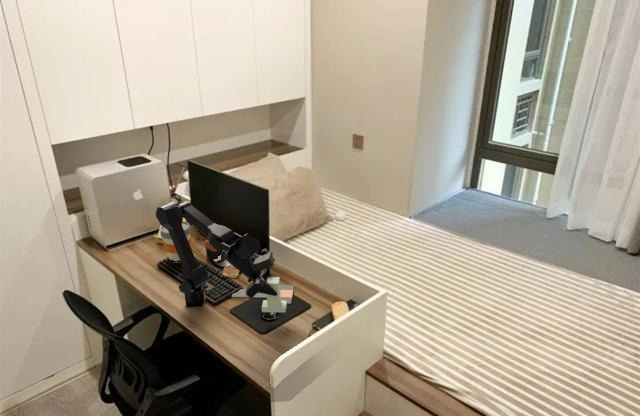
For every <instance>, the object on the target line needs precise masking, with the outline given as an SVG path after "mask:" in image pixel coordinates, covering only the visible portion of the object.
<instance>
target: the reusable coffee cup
mask: <svg viewBox="0 0 640 416" xmlns="http://www.w3.org/2000/svg"><path fill="white" fill-rule="evenodd" d="M182 227H183V229H184V232H185V234H186V237H187V239H188V242H189V244H190V247H191V248H192V236H191V232H192V229H191V226H190V222H188V221H184V220H183V222H182ZM160 237H161V238H162V244H163V247H164V249H165V252H166V253H167V256H168V259H170V260H174V261H178V260H180V258H179V256H178V253H177V251H176V248H175V246H174V244H173V241H172V239H171V236H170V234H169V231H168V230H167V229H166V228H164V227H163V226H161V227H160ZM170 260H169V261H170Z"/></svg>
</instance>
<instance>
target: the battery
mask: <svg viewBox="0 0 640 416" xmlns="http://www.w3.org/2000/svg"><path fill="white" fill-rule="evenodd" d="M204 245H205V246H204V247H205V252H206V253H205V254H206V258H207V260H210V261H212V262H213V260H214V259H217V258H218V256H220V255H221V254H222V252H223V251H220V252H219V251H217V250H216V249H215V248H214V247H213V246H212V245H211V244H210V243H209V241H208V238H207V239H205V240H204Z"/></svg>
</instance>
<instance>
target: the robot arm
mask: <svg viewBox="0 0 640 416" xmlns="http://www.w3.org/2000/svg"><path fill="white" fill-rule="evenodd" d="M155 216H156V219H157V221H158V222H159V225H160V226H161V227H162V226H163V227H164V228H166V229H167V230H168V231H169V234H170V236H171V239H172V241H173V244H174V246H175V248H176V251H177V253H178V256H179V258H180V261H181V262H180V263H181V265H182V273H181V278H182V281H183V282H182V283H181V284H180V285H178V289H179V292H180V293H182V294H184V298H185V299H184V300H185V304H184V308H197V307H200V308H201V307H203V306H204V303H205V302H206V290H205V288H203V286H205V285H206V284H207V282H208V279H209V276H208V275H209V273H208V271H207V269H206V266H205V265H204V264H201V263H199V262H197V260H196V257H195V254H194V252H193V249H192V246H191V247H190V244H189V242H188V239H187V237H186V234H185V232H184V229H183V227H182V222H183V221H184V220H185V221H186V222H187V223H189V224H191V226H193V227H195V228H196V229H197V230H198V231H200V232H201V233H202V234H203V235H205V237H206V238H207V239H208V241H209V243H210V244H211V245H212V246H213V247H214V248H215V249H216V250H217V251H219V252H220V251H223V252H222V254H221V261H220V262H221V263H224V262H225V261H226V262H227V263H228V264H230V265H232V266H234V267H235V268H236V269H237V270H239V272H238V274H239V275H238V276H241V275H243V276H244V277H245V278H247V282H248V283H249V284H248V285H247V286H246V287H247V288H246V289H247V290H246V295H247V296H248V297H249V298H248V299H253V298H252V297H254V296H255V295H256V294H257V293H263V294H268V295H272V296H276V295H277V292H276V291H275V290H274V289H273V288H272V287H271V286H270V285H269V284H268V281H267V278H268V277H274V275H273V274H272V273H271V272H272V269H271V268H273V267H274V266H275V265H274V263H275V261H276V260H275V258H274V256H273V255H274V253H273V252H271V251H270V250H268V248H264V249H262V250H261V248H262V245H261V242H260V240H259V239H258V238H257V237H255V236H251V235H250V234H249V233H245V234H244V235H241V234H238V233H237V232H235V231H233V230H232V229H231V228H229V227H227V226H225V225H221V224H217V223H215V222H214V221H213V220H212V219H210V217H208V216H206V215H205V214H204V213H202V212H201V211H200V210H198V209H197V208H196V207H194V206H193V203H192V202H190V201H180V202H176V201H171V202H170V201H169V202H168V203H166V204H164V205H161V206H158V207H156V210H155ZM183 219H184V220H183ZM260 250H261V254H260V255H259V256H258V257H256V256H254V255H256V254H257V253H258V252H260Z"/></svg>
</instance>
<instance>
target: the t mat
mask: <svg viewBox="0 0 640 416" xmlns="http://www.w3.org/2000/svg"><path fill="white" fill-rule="evenodd" d="M294 288H295V285H294V284H292V285H291V284H288V285H287V284H280V297H281V301H286V302H287V305H291V304H292V299H293V295H294ZM239 289H240V288H239ZM246 290H247V288H245V289H242V288H241V289H240V290H239V291H238V292H236V293H234V294H233V293H232V295H231V298H234V299H235V298H236V299H237V298H240V299H241V298H242V299H244V298H245V299H250V298H249V297H248V296H247V295H246ZM251 299H267V294H263V293H257V294H256V295H255V296H254V297H252V298H251Z"/></svg>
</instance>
